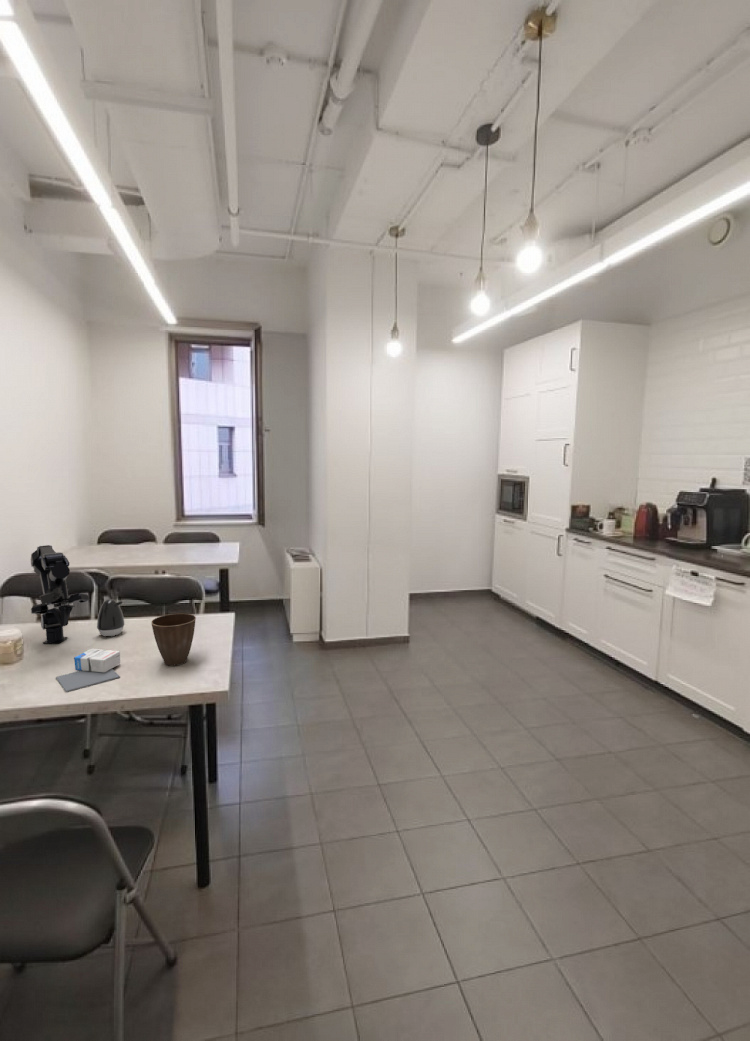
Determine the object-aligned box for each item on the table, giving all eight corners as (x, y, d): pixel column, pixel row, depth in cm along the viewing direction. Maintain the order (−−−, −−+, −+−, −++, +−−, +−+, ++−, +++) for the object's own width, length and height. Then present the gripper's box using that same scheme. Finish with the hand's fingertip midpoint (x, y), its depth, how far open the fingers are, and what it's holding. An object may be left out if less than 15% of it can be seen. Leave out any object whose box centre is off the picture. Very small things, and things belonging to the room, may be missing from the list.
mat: (55, 678, 173) (55, 676, 173) (107, 665, 184) (107, 663, 184) (66, 692, 163) (66, 690, 163) (120, 677, 173) (120, 676, 173)
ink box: (74, 670, 178) (104, 673, 175) (73, 656, 177) (103, 660, 175) (92, 660, 186) (121, 663, 184) (91, 647, 185) (120, 650, 183)
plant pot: (143, 666, 183) (141, 623, 181) (173, 651, 197) (171, 611, 195) (177, 672, 178) (175, 628, 176) (205, 657, 192) (204, 615, 190)
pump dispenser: (117, 639, 210) (115, 602, 208) (92, 638, 210) (90, 602, 208) (130, 630, 220) (128, 596, 218) (105, 630, 220) (103, 595, 218)
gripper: (18, 590, 185) (23, 633, 182) (69, 576, 186) (75, 618, 183) (38, 593, 196) (44, 633, 193) (86, 579, 197) (93, 619, 194)
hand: (63, 626), depth 190 cm, fingers closed
